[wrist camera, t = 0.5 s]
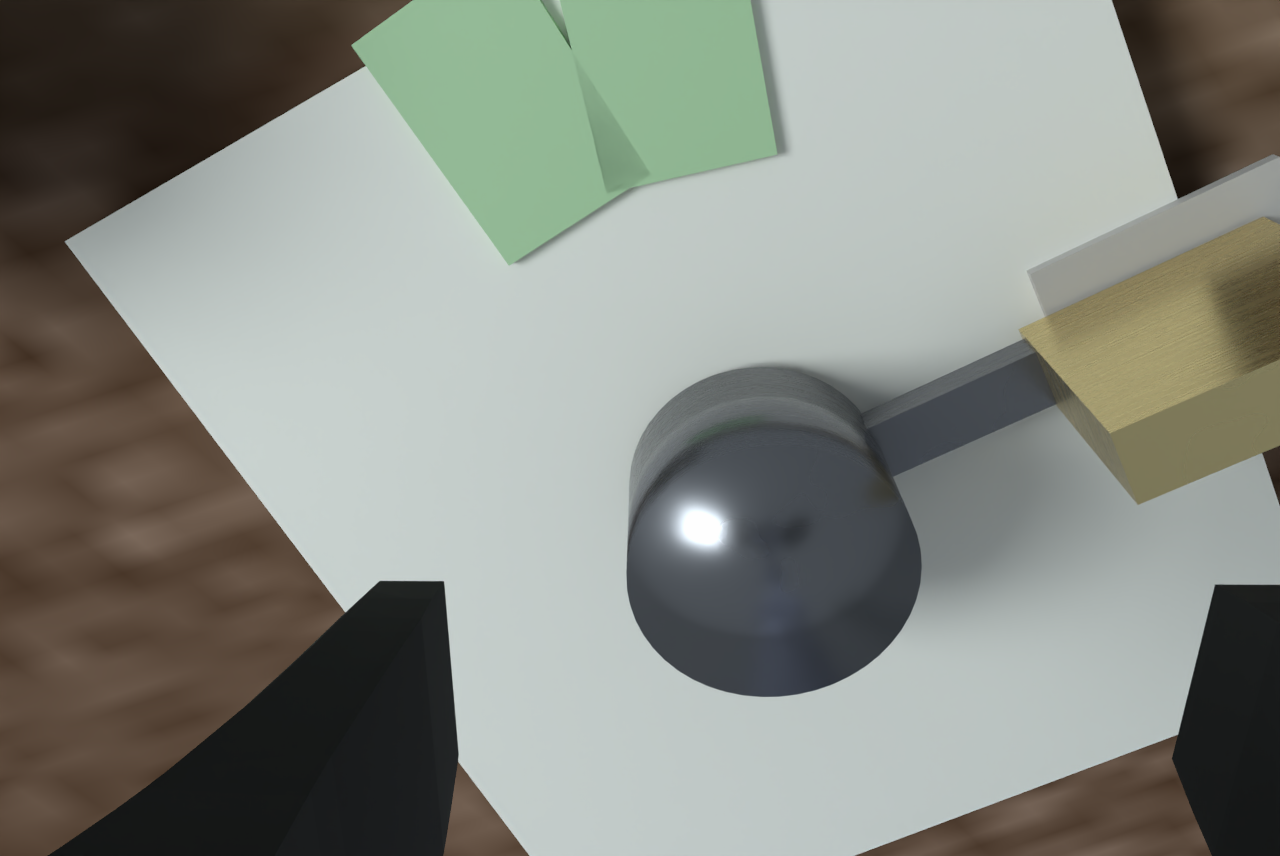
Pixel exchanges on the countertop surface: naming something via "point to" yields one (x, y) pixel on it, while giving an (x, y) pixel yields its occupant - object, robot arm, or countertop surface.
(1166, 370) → the grey and tan piece
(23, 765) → the countertop surface
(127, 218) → the dial board
